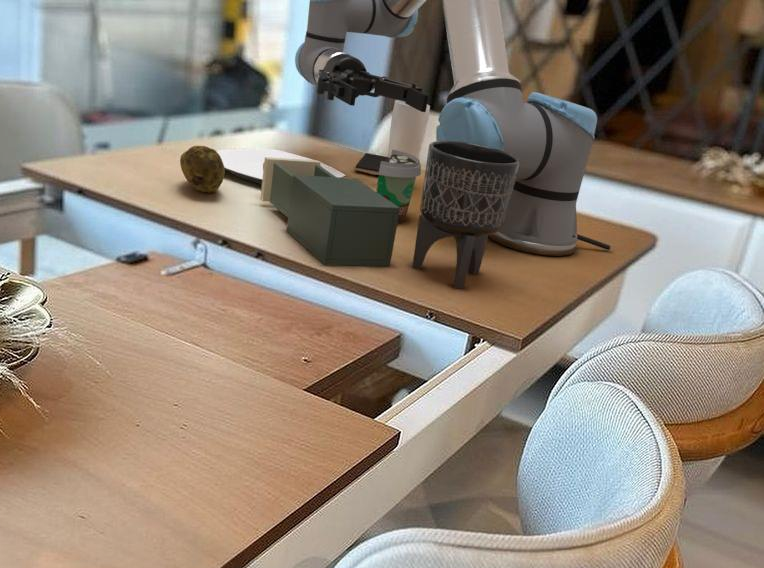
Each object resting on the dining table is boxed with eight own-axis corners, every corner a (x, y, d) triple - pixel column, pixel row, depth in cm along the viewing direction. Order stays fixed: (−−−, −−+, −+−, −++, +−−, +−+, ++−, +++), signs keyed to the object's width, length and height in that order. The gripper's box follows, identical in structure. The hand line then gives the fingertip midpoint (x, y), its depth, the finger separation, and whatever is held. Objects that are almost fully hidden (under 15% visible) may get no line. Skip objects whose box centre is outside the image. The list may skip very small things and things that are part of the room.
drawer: (250, 190, 171) (254, 149, 167) (302, 193, 175) (307, 152, 171) (291, 226, 156) (296, 181, 153) (346, 228, 160) (353, 184, 156)
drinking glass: (422, 189, 195) (437, 108, 187) (394, 190, 191) (409, 106, 184) (401, 180, 199) (415, 99, 192) (374, 180, 196) (387, 98, 188)
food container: (406, 230, 167) (417, 169, 162) (370, 223, 168) (380, 161, 163) (416, 214, 178) (427, 155, 173) (382, 207, 179) (392, 148, 173)
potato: (233, 188, 174) (237, 140, 170) (216, 205, 163) (221, 154, 159) (186, 179, 174) (189, 131, 170) (166, 196, 163) (169, 145, 159)
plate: (360, 187, 189) (362, 177, 188) (273, 197, 173) (274, 186, 172) (274, 156, 200) (275, 145, 199) (184, 162, 184) (185, 151, 183)
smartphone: (400, 159, 210) (391, 173, 197) (399, 164, 211) (390, 179, 198) (365, 152, 211) (354, 166, 198) (364, 158, 211) (354, 172, 198)
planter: (395, 275, 146) (417, 148, 137) (420, 255, 156) (443, 136, 147) (481, 297, 143) (510, 169, 134) (500, 275, 154) (529, 155, 145)
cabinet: (286, 231, 156) (293, 174, 152) (348, 233, 161) (356, 178, 156) (324, 265, 145) (332, 204, 140) (390, 266, 149) (400, 207, 145)
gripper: (397, 102, 194) (449, 129, 178) (275, 90, 183) (319, 117, 168) (404, 60, 190) (458, 83, 174) (280, 46, 180) (325, 69, 164)
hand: (390, 100), depth 171 cm, fingers open, 13 cm apart
